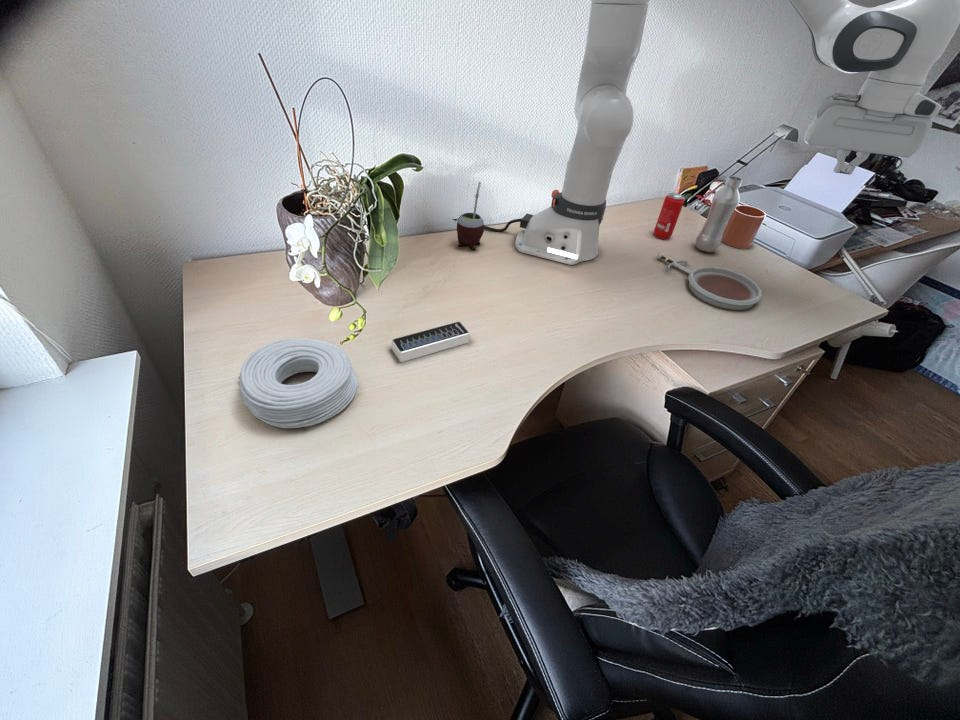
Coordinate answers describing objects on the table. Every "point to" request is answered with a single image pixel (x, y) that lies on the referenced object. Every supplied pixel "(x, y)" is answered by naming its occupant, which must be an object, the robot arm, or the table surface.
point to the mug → (743, 226)
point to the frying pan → (720, 286)
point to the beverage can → (668, 215)
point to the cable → (300, 400)
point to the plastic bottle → (719, 215)
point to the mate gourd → (470, 227)
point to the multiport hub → (430, 341)
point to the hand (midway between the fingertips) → (841, 173)
